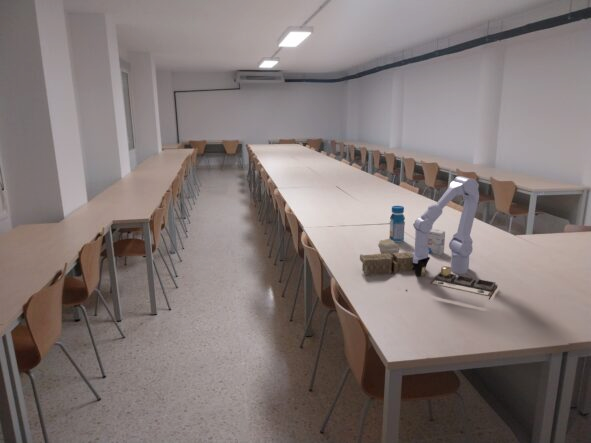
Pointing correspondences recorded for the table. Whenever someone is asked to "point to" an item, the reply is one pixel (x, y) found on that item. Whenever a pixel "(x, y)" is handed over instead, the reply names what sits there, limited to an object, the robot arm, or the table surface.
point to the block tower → (386, 263)
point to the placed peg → (446, 272)
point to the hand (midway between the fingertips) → (419, 273)
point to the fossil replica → (388, 247)
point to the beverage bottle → (397, 224)
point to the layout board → (466, 284)
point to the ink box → (436, 241)
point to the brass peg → (423, 271)
